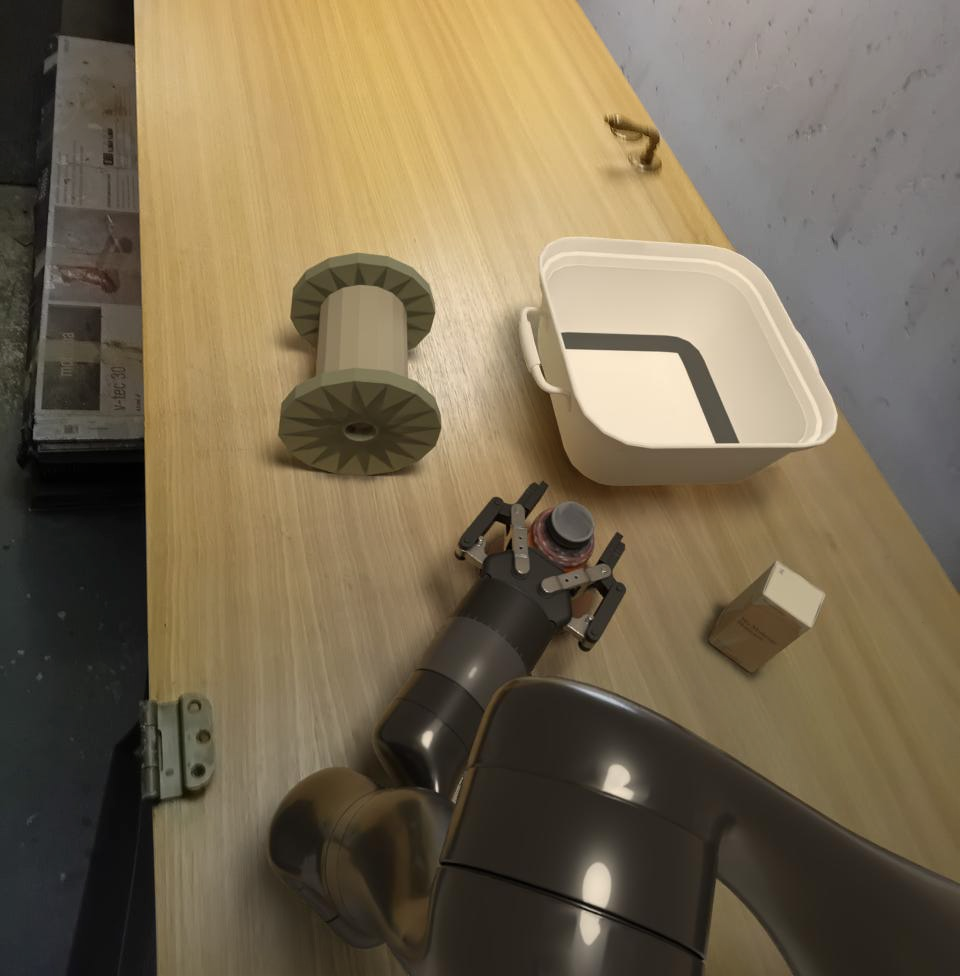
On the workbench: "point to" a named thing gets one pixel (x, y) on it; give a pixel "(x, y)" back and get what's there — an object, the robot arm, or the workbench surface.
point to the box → (767, 617)
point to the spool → (361, 367)
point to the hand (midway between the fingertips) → (579, 512)
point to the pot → (670, 363)
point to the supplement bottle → (564, 535)
